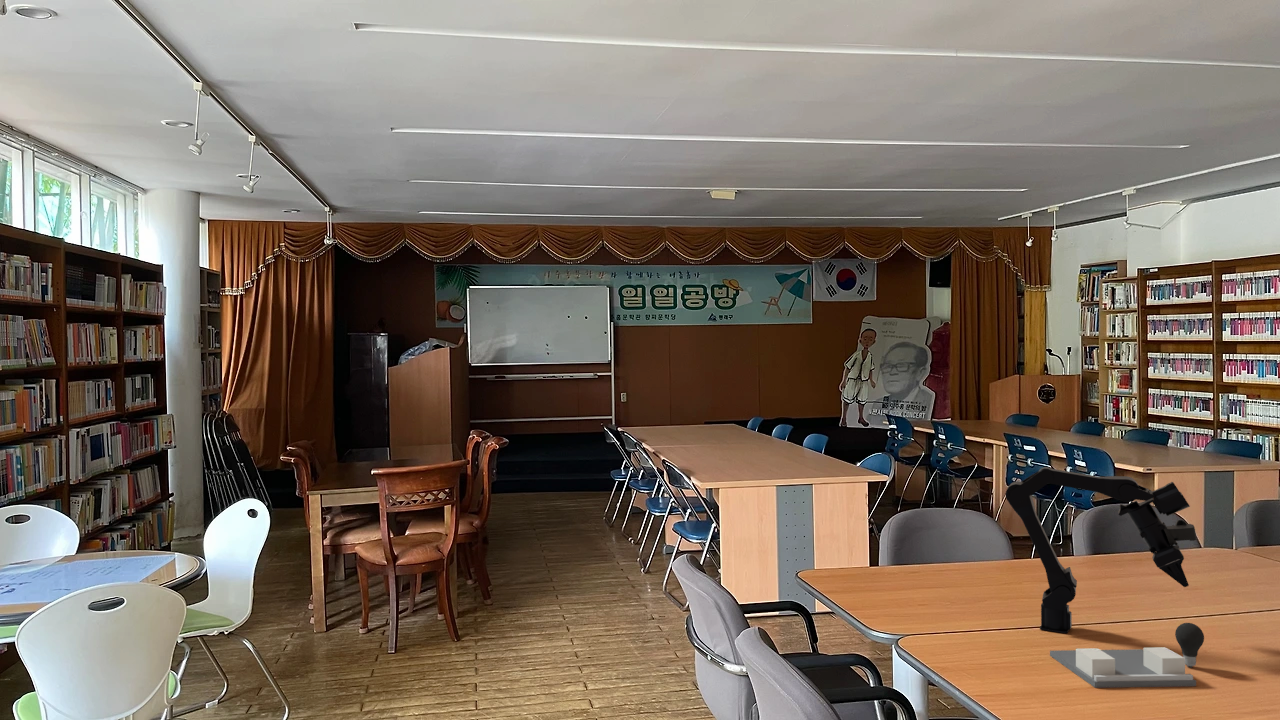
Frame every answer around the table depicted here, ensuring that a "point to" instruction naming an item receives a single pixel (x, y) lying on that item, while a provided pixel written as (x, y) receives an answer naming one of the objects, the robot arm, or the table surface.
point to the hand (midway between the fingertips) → (1184, 581)
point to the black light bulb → (1189, 641)
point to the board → (1126, 667)
